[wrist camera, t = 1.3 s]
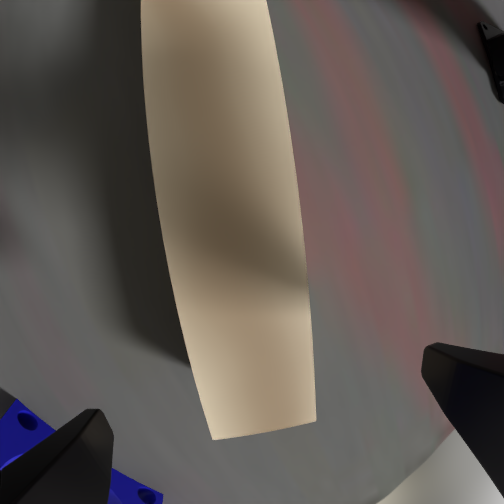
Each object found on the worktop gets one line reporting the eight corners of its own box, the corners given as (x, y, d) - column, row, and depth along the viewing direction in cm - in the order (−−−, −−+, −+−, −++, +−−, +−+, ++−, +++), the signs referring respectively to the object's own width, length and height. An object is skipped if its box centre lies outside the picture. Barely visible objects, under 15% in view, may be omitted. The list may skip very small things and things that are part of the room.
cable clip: (3, 425, 14) (-30, 475, 8) (17, 397, 14) (-24, 453, 8) (133, 509, 17) (126, 566, 11) (163, 492, 17) (158, 557, 11)
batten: (226, -69, 10) (233, -123, 5) (288, 359, 15) (316, 421, 11) (158, -61, 10) (148, -114, 5) (211, 373, 15) (212, 440, 10)
